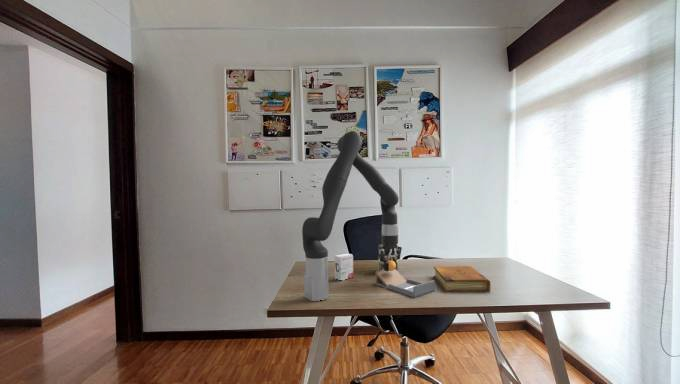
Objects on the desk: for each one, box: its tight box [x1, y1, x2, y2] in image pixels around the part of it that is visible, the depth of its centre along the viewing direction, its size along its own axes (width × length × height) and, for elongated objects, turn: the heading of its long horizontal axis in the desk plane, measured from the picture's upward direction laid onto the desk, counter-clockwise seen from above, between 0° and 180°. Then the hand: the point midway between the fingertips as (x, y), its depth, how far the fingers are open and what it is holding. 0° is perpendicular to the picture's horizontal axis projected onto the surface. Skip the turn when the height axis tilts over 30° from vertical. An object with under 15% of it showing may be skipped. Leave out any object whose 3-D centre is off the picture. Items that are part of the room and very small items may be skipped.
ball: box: [388, 260, 396, 271], centre depth 154 cm, size 5×5×5 cm
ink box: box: [334, 253, 354, 281], centre depth 163 cm, size 9×5×12 cm, turn 129°
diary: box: [433, 265, 491, 293], centre depth 152 cm, size 23×19×6 cm
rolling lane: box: [374, 269, 436, 298], centre depth 148 cm, size 13×24×6 cm, turn 37°
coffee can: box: [378, 243, 399, 272], centre depth 173 cm, size 10×10×14 cm
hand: (390, 269), depth 154 cm, fingers closed on ball, 4 cm apart
